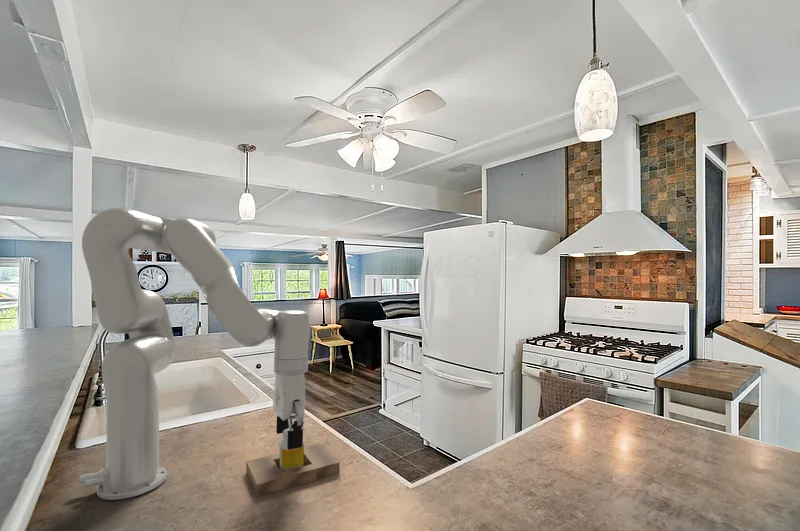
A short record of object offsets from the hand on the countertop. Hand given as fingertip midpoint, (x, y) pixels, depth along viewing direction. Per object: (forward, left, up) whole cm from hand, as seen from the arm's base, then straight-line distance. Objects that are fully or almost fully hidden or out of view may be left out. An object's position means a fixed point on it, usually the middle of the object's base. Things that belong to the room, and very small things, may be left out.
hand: (288, 439), depth 90 cm
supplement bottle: (+1, 0, -8) cm, 8 cm away
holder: (+1, 0, -8) cm, 8 cm away
